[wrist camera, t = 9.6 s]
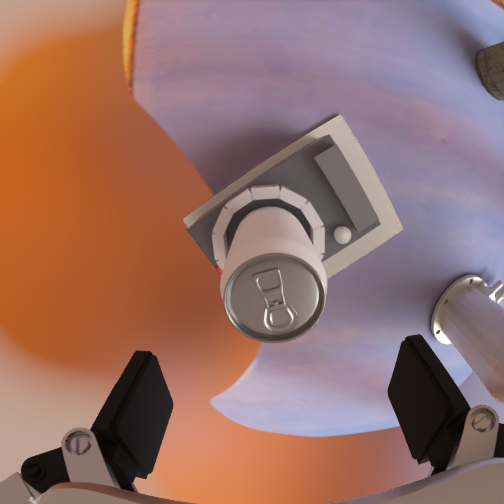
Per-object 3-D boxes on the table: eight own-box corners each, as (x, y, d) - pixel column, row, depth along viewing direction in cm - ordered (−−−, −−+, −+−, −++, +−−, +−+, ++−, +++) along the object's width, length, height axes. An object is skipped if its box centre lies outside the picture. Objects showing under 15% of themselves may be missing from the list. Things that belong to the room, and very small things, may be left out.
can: (248, 278, 28) (238, 358, 16) (226, 217, 26) (197, 265, 14) (311, 260, 27) (342, 332, 15) (293, 196, 25) (319, 229, 14)
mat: (339, 114, 28) (340, 114, 27) (402, 228, 32) (403, 229, 31) (182, 218, 33) (182, 219, 32) (258, 317, 36) (258, 319, 36)
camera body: (317, 138, 29) (334, 132, 21) (361, 212, 31) (389, 229, 23) (200, 216, 32) (181, 235, 24) (249, 282, 34) (245, 317, 27)
